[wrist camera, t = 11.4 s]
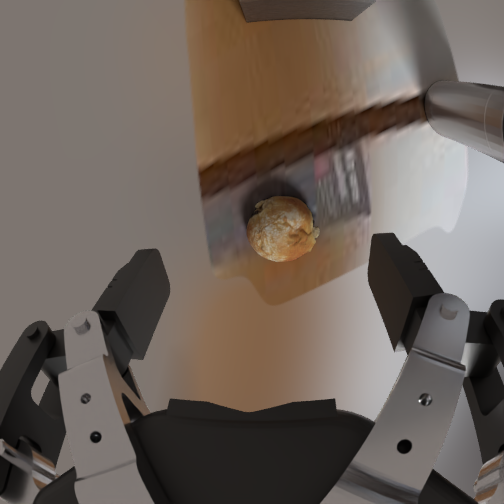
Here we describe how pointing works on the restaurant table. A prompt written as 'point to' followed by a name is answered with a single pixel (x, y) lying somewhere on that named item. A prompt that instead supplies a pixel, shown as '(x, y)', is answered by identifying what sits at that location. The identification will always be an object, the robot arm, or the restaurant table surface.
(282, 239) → the bread roll
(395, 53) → the restaurant table surface
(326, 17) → the box
